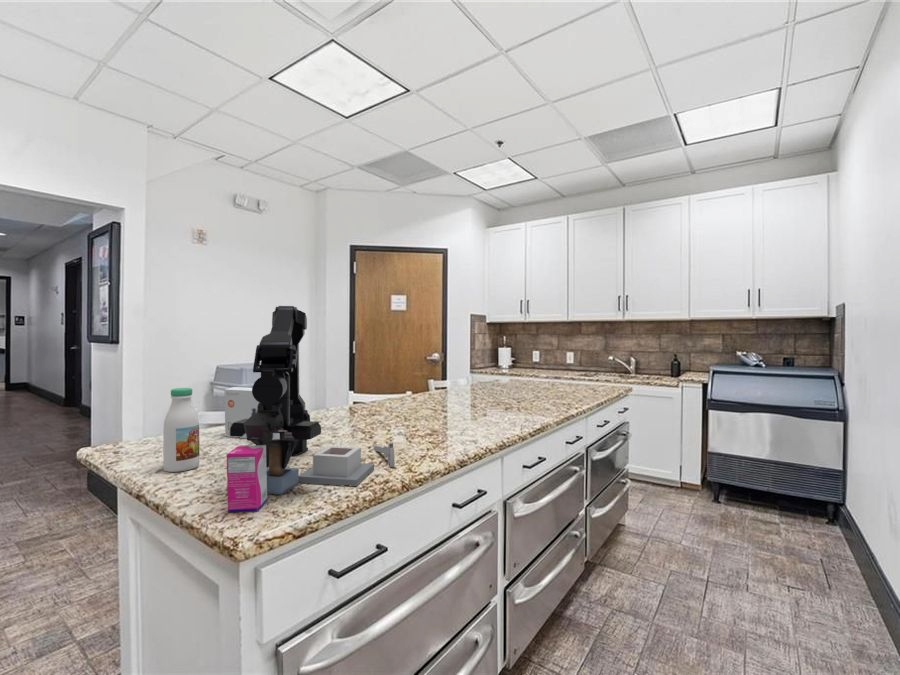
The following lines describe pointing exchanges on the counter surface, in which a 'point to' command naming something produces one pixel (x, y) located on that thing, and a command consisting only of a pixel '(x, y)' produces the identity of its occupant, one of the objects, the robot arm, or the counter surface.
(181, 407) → the milk bottle
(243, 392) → the skincare box
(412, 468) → the counter surface
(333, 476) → the grey square holder
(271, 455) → the brown wooden cylinder
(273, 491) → the blue square tray
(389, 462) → the caliper
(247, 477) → the supplement box
